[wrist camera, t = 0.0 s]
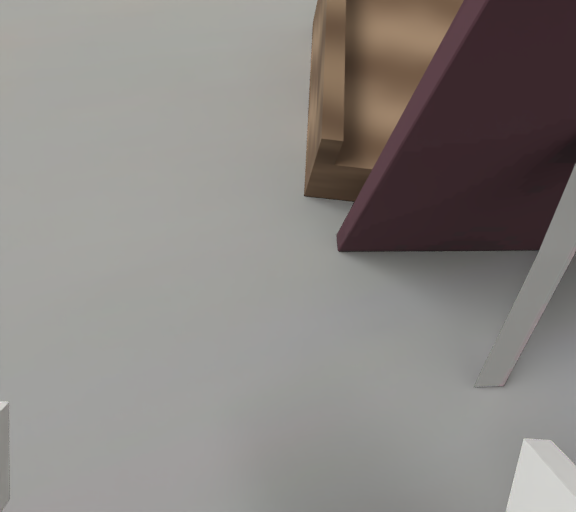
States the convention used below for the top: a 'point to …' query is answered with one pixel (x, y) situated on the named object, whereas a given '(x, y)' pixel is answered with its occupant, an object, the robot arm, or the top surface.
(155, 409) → the top surface
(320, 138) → the walnut ledge
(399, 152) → the picture frame
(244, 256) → the top surface
